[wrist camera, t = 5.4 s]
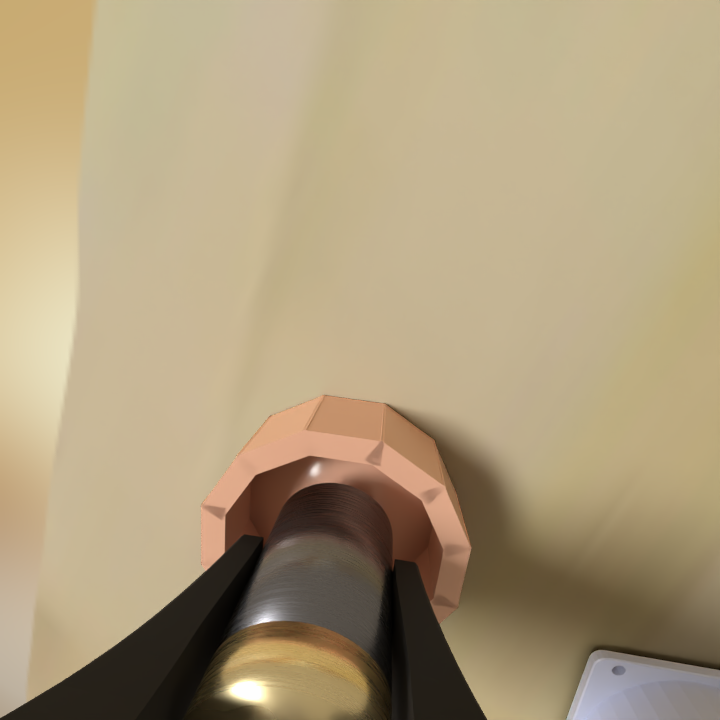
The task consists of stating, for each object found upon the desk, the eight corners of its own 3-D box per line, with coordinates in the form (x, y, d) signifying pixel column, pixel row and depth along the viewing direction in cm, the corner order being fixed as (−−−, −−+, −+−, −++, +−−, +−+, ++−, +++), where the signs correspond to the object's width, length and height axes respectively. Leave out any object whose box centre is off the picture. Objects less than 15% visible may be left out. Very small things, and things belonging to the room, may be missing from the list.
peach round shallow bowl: (471, 415, 13) (493, 456, 10) (432, 602, 15) (441, 679, 12) (241, 383, 14) (200, 414, 11) (236, 568, 16) (200, 635, 13)
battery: (403, 496, 12) (416, 771, 5) (380, 593, 13) (367, 918, 6) (284, 471, 12) (157, 706, 6) (270, 568, 13) (150, 861, 7)
